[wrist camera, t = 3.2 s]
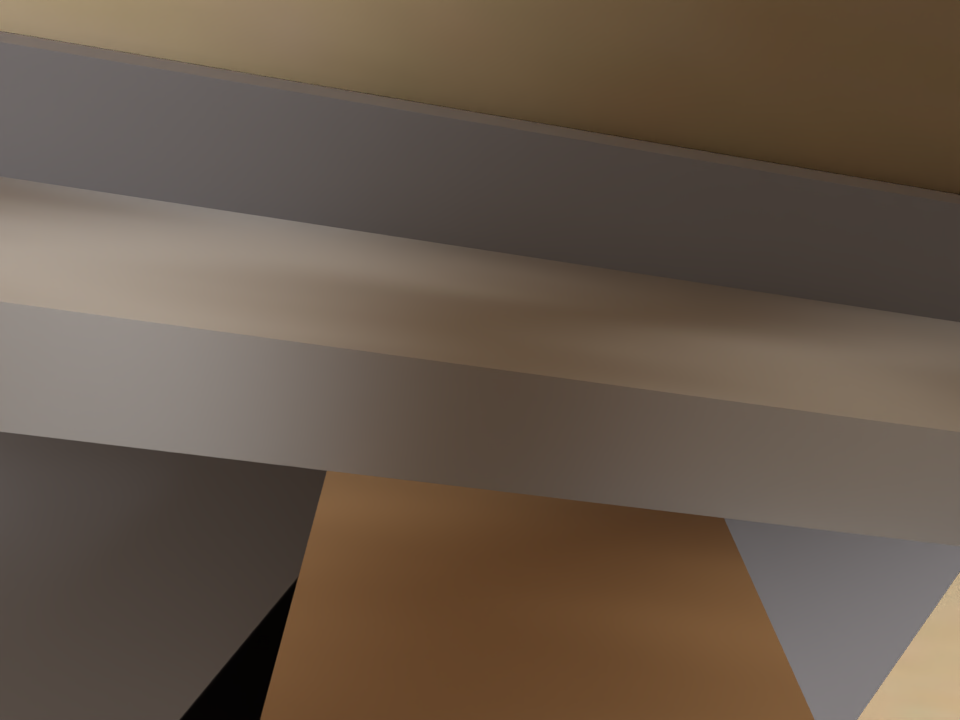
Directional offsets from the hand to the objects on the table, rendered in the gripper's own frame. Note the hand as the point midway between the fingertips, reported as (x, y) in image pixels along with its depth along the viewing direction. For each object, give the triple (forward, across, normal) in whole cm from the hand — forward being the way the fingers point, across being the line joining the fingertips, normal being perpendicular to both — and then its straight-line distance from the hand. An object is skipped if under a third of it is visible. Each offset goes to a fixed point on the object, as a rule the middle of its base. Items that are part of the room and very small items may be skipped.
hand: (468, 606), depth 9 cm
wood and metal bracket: (+1, 0, 0) cm, 1 cm away
